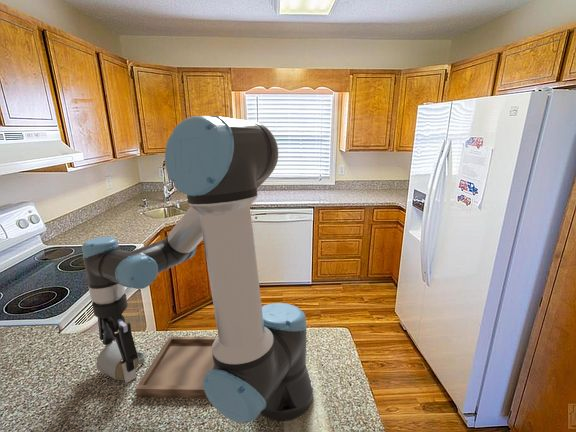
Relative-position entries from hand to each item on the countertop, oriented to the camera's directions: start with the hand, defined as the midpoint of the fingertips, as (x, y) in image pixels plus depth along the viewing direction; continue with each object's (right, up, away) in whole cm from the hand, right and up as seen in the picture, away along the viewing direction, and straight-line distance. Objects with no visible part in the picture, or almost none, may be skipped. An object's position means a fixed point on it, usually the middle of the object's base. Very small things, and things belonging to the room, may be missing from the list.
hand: (122, 371), depth 80 cm
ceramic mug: (0, 0, +1) cm, 1 cm away
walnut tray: (+18, 0, +1) cm, 18 cm away
